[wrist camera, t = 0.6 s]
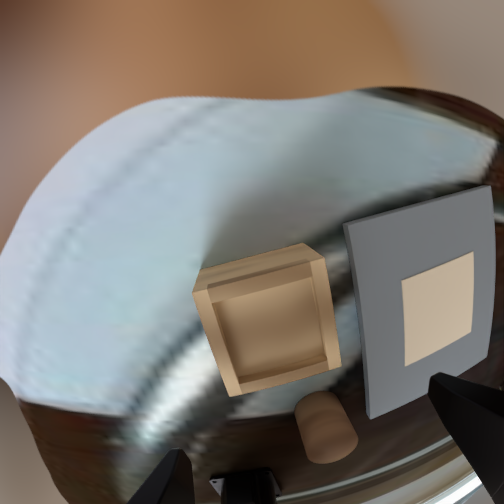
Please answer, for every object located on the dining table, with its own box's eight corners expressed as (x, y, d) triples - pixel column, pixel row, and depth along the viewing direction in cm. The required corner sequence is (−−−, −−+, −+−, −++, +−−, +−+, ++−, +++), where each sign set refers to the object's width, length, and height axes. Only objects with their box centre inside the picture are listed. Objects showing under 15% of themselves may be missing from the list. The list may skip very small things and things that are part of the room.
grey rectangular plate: (481, 352, 24) (487, 357, 23) (366, 413, 23) (370, 420, 22) (483, 185, 20) (491, 185, 19) (342, 223, 19) (348, 225, 18)
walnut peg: (340, 415, 23) (358, 452, 18) (298, 428, 23) (310, 468, 18) (336, 384, 22) (357, 423, 17) (290, 399, 22) (303, 441, 17)
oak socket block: (320, 332, 21) (341, 366, 17) (228, 357, 21) (229, 396, 16) (302, 242, 20) (324, 257, 15) (200, 268, 20) (191, 292, 15)
